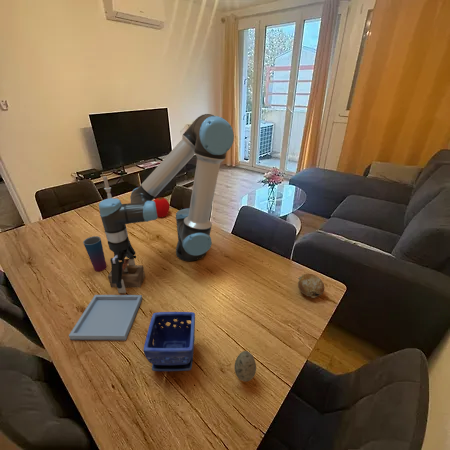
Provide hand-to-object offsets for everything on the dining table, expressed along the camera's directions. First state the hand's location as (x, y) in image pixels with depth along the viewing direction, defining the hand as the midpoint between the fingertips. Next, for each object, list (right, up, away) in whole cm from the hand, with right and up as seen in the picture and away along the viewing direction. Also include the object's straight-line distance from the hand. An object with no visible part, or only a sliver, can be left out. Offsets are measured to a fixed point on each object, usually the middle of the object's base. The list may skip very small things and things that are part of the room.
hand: (128, 281), depth 104 cm
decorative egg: (+47, -19, -34) cm, 61 cm away
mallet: (0, 0, 0) cm, 0 cm away
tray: (0, -9, -17) cm, 19 cm away
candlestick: (-25, +25, +46) cm, 58 cm away
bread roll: (+75, -2, -2) cm, 75 cm away
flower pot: (+26, -16, -29) cm, 42 cm away
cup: (-16, +4, +8) cm, 18 cm away
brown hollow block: (0, 0, 0) cm, 0 cm away
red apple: (+1, +29, +55) cm, 62 cm away
